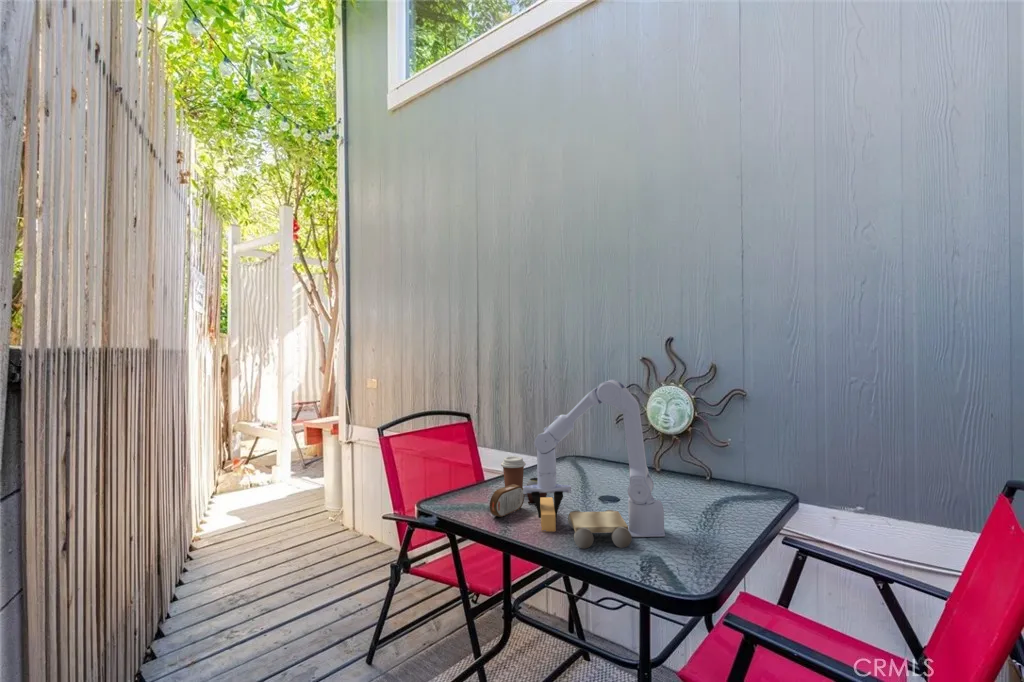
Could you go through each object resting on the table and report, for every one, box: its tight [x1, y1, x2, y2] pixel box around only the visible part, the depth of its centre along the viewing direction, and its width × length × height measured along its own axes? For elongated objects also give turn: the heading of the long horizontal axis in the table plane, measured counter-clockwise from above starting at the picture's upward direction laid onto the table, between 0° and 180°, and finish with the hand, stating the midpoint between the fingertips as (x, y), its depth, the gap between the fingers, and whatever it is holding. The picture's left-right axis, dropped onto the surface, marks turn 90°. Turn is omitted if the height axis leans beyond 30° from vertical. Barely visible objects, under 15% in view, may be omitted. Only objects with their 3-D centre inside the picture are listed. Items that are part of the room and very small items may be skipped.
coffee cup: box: [500, 455, 527, 488], centre depth 180 cm, size 9×9×12 cm
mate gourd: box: [526, 477, 548, 503], centre depth 166 cm, size 8×8×15 cm
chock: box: [540, 496, 557, 532], centre depth 148 cm, size 4×16×5 cm, turn 178°
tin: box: [489, 484, 525, 518], centre depth 156 cm, size 15×3×8 cm, turn 141°
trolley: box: [567, 509, 633, 550], centre depth 135 cm, size 15×15×5 cm
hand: (547, 516), depth 148 cm, fingers closed on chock, 4 cm apart
